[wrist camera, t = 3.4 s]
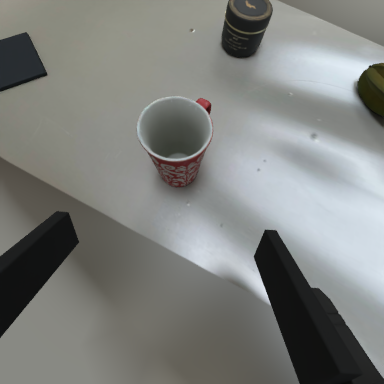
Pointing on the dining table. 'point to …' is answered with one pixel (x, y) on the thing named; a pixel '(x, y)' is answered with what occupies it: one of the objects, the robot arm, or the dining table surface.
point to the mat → (18, 61)
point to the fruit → (373, 88)
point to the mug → (176, 136)
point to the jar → (245, 25)
